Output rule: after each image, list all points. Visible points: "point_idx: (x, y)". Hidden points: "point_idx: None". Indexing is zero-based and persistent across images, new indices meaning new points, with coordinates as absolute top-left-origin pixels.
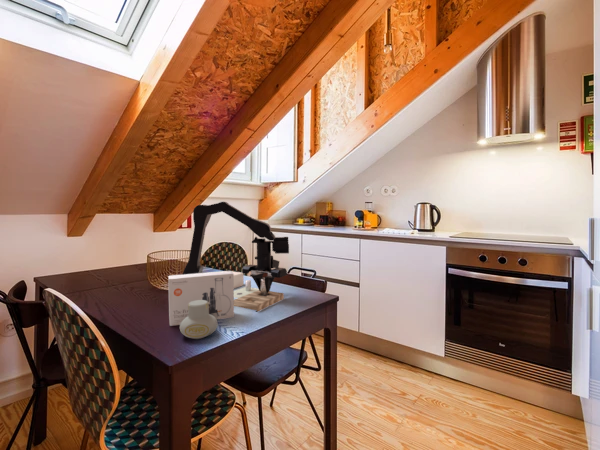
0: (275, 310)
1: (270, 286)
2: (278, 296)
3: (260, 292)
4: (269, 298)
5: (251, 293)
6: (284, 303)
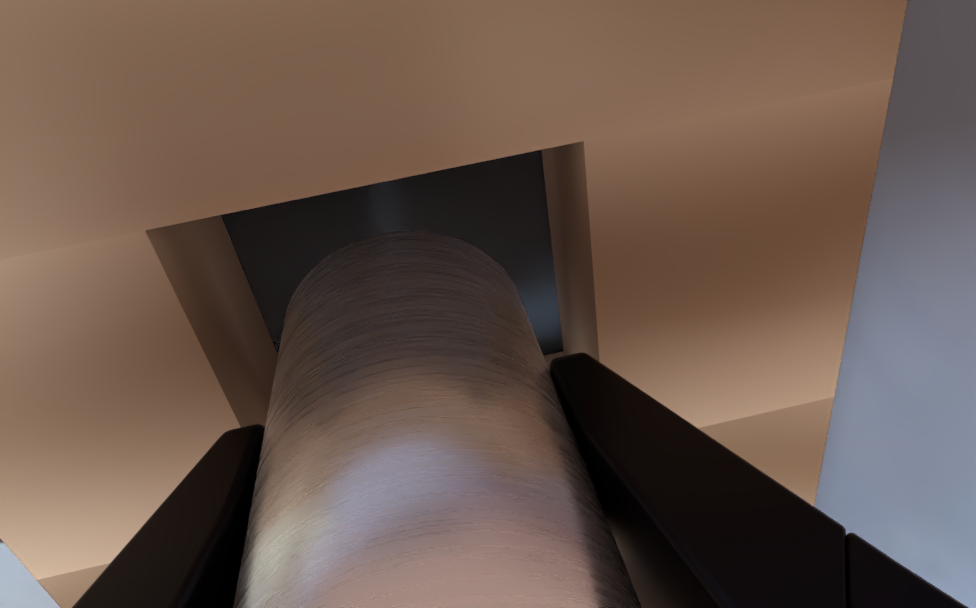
0: (930, 471)
1: (739, 486)
2: (854, 169)
3: (116, 318)
4: (771, 476)
5: (37, 533)
6: (958, 130)
